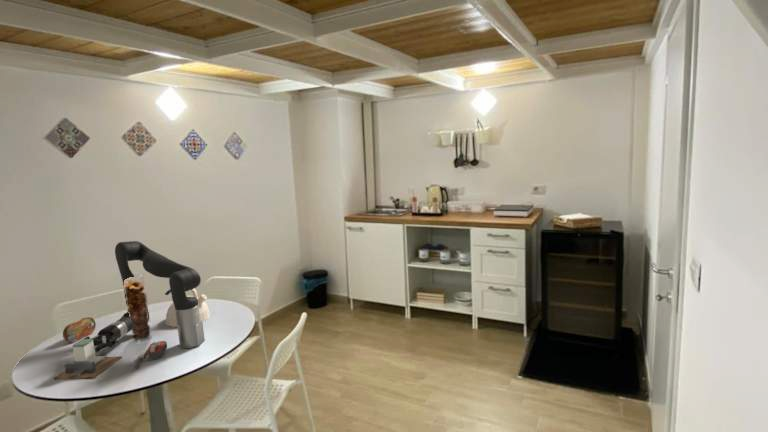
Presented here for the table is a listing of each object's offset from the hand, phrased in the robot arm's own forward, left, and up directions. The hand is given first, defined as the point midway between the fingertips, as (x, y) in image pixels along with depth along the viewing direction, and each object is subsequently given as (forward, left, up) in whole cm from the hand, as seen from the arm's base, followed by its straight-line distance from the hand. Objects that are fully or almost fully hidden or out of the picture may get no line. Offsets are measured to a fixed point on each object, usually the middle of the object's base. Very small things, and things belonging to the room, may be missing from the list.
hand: (85, 350), depth 166 cm
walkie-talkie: (-21, -8, -8) cm, 24 cm away
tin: (+26, -30, -8) cm, 40 cm away
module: (0, 0, -6) cm, 6 cm away
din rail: (0, -1, -8) cm, 8 cm away
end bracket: (0, +4, -8) cm, 9 cm away
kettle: (-16, -49, -8) cm, 52 cm away
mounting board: (0, -1, -8) cm, 8 cm away
